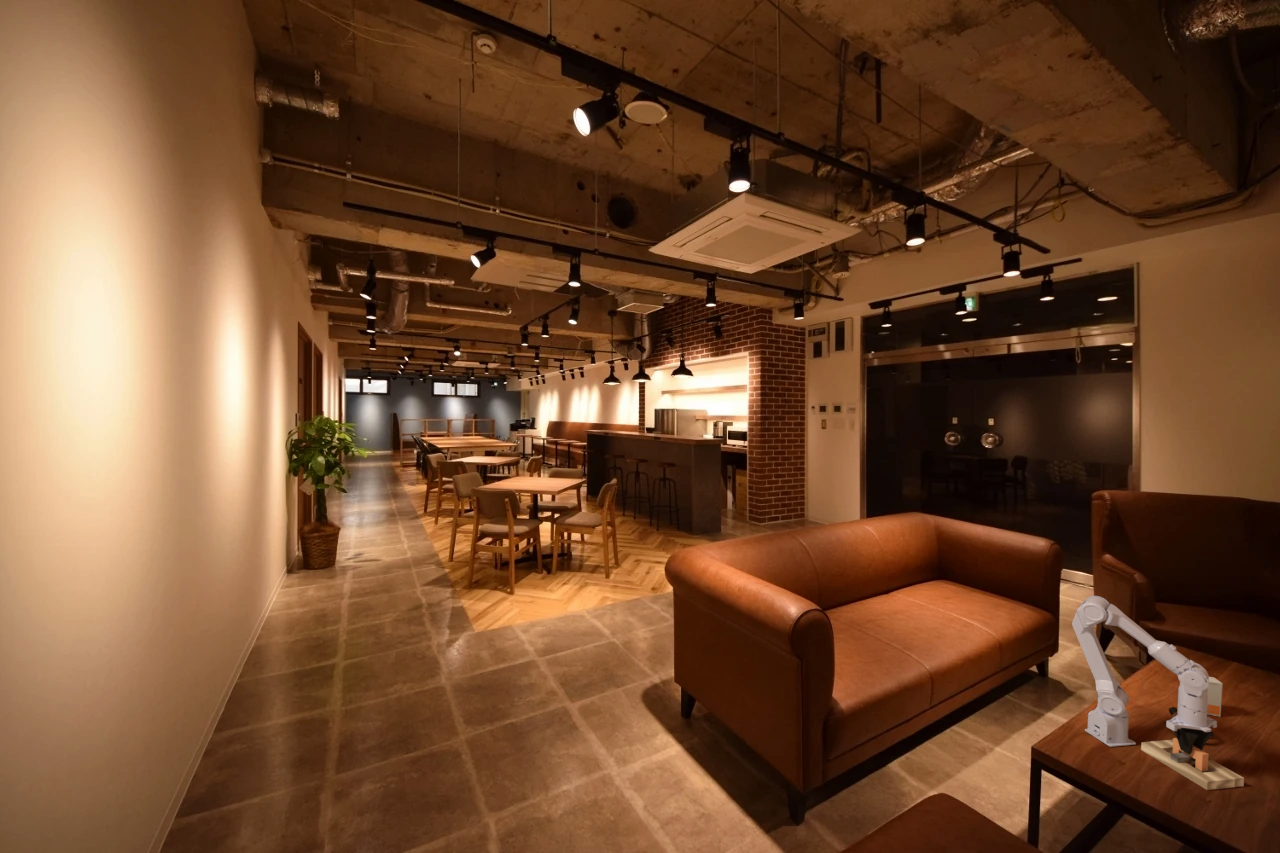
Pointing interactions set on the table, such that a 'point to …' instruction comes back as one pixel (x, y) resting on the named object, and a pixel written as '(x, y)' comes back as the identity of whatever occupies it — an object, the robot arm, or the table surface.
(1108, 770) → the table surface
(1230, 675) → the table surface
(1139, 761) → the table surface
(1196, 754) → the orange hook block
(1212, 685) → the skincare box
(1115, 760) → the table surface
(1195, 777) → the light wood flat frame
